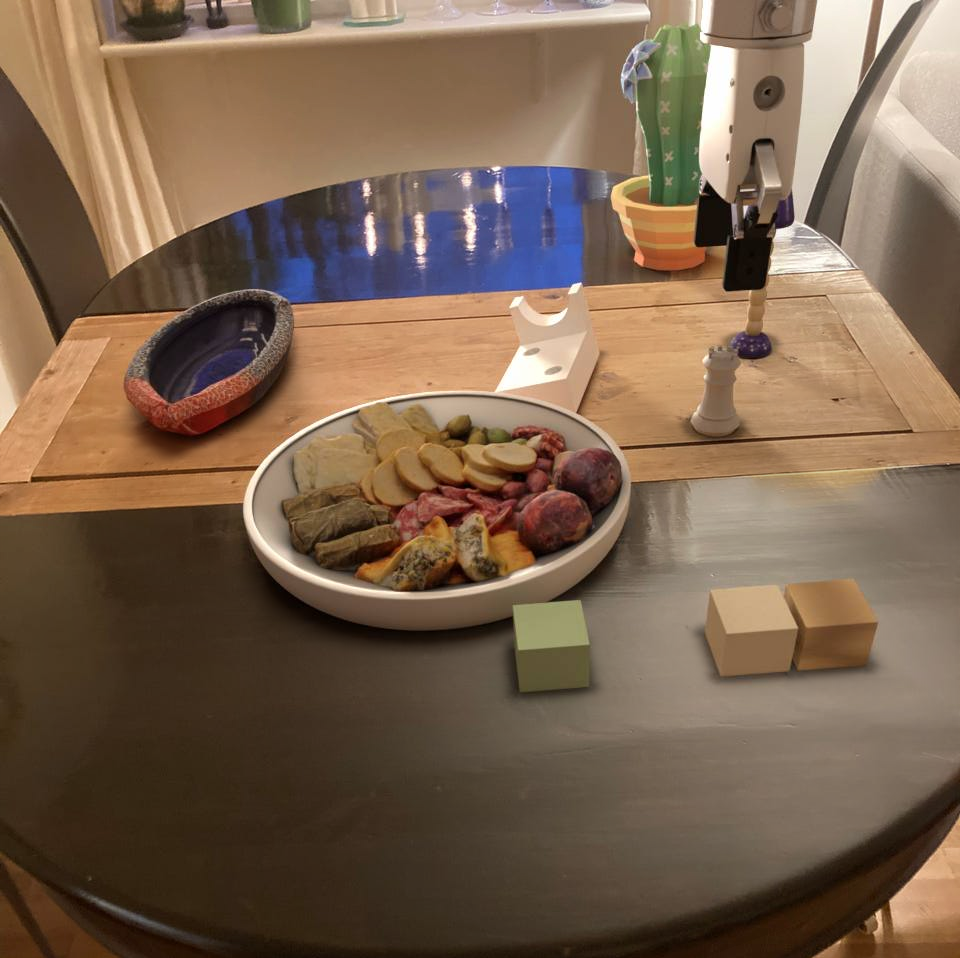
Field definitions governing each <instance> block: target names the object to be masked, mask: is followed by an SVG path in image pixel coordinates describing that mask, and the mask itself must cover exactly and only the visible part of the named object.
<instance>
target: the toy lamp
mask: <svg viewBox="0 0 960 958" xmlns="http://www.w3.org/2000/svg"><path fill="white" fill-rule="evenodd" d="M753 191H757V189H753ZM793 193H794V192H793V189H792V190H791V193H790V195H789V196H788V197H787V198H786V199H785V200H780V201H779V204H778V207H777V209H778V211H777V213H778V218H777V219H776V221H775V233H774V236H773V238H772V245H771V251H770V258H769V265H768V271H767V278H766V284H765V287H764V288H763V289H760V290H749V293H748V302H749V304H748V305H747V309H746V317H747V319H746V321H745V323H744V330H743V331H741V332H739V333H738V334H736V335H735V336H734V337H733V339H732V340H731V342H730V345H729V346H733V351H734V349H737V350H738V357H739V358H744V359H745V358H746V359H759V358H764V357H766V356H768V355H770V354H771V353H772V350H773V349H772V348H773V346H772V341H771V339H770V337H769V336H768V335H767V334H766V333H764V332H762V331H763V328H764V321H763V318H764V316H765V313H766V306H765V303H766V301H767V299H768V289H767V287H768V286H769V282H770V273H769V272H770V270H771V268H772V267H771V266H772V258H771V257H772V254H773V252H774V249H775V244H774V239H775V237H776V235H777V230H781V229H786V228H789V227H791V226H792V225H793V224H794V223H795V206H794V205H795V204H794V195H793ZM752 206H756V205H749V206H747V207H746V210H745V212H744V219H745V217H746V215H747V213H748V211H749V210H750V208H751V207H752Z"/></svg>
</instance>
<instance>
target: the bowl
mask: <svg viewBox="0 0 960 958" xmlns="http://www.w3.org/2000/svg"><path fill="white" fill-rule="evenodd" d="M630 470H631V469H630V467H629V464H628V461H627V459H626V456H625V454H624V453H623V451H622V449H621V448H620V446H619V445H618V444H617V443H616V441H615V440H614V439H613V438H612V437H611V436H610V435H609V434H608V433H607V432H606V431H605V430H603V429H602V428H601V427H600V426H599V425H597V424H596V423H594V422H592V421H591V420H590V419H588V418H585V416H582V415H580V414H579V413H577V412H576V413H574V412H572V411H570V410H567V409H565V408H563V407H560V406H557V405H554V404H551V403H548V402H545V401H541V400H537V399H533V398H529V397H524V396H519V395H512V394H506V393H497V392H495V391H486V390H485V391H483V390H441V391H439V390H438V391H428V392H427V391H426V392H419V393H410V394H404V395H398V396H392V397H387V398H385V399H383V398H382V399H379V400H376V401H371V402H367V403H364V404H360V405H357V406H354V407H351V408H348V409H345V410H343V411H340V412H337V413H335V414H332V415H329V416H327V417H325V418H323V419H320V420H319V421H316V422H315V423H313V424H311V425H309V426H307V427H305V428H303V429H301V430H300V431H299V432H297V433H295V434H294V435H292V436H291V437H289V438H288V439H286V440H285V441H284V442H283V443H281V444H280V445H278V446H277V447H276V448H275V449H274V450H273V451H271V453H269V455H268V456H267V457H266V458H265V459H264V460H263V461H262V462H261V463H260V465H259V466H258V467H257V469H256V470H255V471H254V473H253V474H252V476H251V478H250V480H249V482H248V484H247V487H246V490H245V493H244V495H243V503H242V518H243V522H244V526H245V530H246V533H247V536H248V539H249V543H250V545H251V547H252V549H253V551H254V553H255V555H256V557H257V559H258V560H259V562H260V563H261V565H262V566H263V567H264V569H265V570H266V571H267V573H268V574H269V575H270V576H271V578H273V580H274V581H276V583H277V584H279V585H280V586H281V587H282V588H283V589H285V590H286V591H287V592H288V593H290V594H291V595H292V596H294V597H295V598H297V599H298V600H300V601H301V602H303V603H304V604H307V605H308V606H310V607H312V608H314V609H316V610H318V611H320V612H323V613H325V614H328V615H330V616H332V617H335V618H337V619H342V620H343V621H347V622H351V623H355V624H359V625H364V626H367V627H374V628H379V629H380V628H381V629H387V630H389V629H390V630H397V631H417V632H419V631H421V632H422V631H427V632H428V631H442V630H443V631H445V630H454V629H463V628H471V627H475V626H480V625H485V624H486V625H487V624H490V623H494V622H497V621H502V620H504V619H508V618H511V617H513V605H522V604H535V603H548V602H551V601H552V600H553V599H555V598H557V597H559V596H561V595H562V594H564V593H565V592H567V591H568V590H569V589H571V588H573V587H575V586H576V585H577V584H578V583H580V582H581V581H582V580H583V579H585V578H586V577H587V576H588V575H589V574H590V573H591V572H593V571H594V569H595V568H596V567H598V566H599V564H600V563H601V562H602V561H603V560H604V559H605V557H607V555H608V554H609V552H610V551H611V549H612V548H613V546H614V545H615V543H616V541H617V540H618V538H619V536H620V534H621V532H622V530H623V528H624V526H625V525H624V524H625V522H626V519H627V516H628V512H629V507H630V501H631V489H632V477H631V471H630Z"/></svg>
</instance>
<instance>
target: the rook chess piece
mask: <svg viewBox="0 0 960 958" xmlns="http://www.w3.org/2000/svg"><path fill="white" fill-rule="evenodd" d="M723 347H724V345H723V344H717V345H716V349H715V346H711V347H709V348H708V351H707V354H706V355H705V356H704V357H703V359H702V361H701V362H702V364H703V366H704V367H705V369H706V373H705V374H704V375H703V380H704V390H703V394H702V397H701V401H700V404H699V405H697V407H696V411H694V412H693V414H692V416H691V419H690V423H691V425H692V427H693V428H694V429H695V431H696V432H698V433H699V434H701V435H703V436H707V437H715V438H716V437H718V438H719V437H725V436H728V435H731V434H732V433H733V432H734V431H735V430H736V429H737V428H738V427H739V426H740V423H741V420H740V416H739V414H738V413H737V409H736V407H735V404H734V385H735V383H736V382H737V375H736V374H735V372H736V371H737V369H739V368H740V367H741V364H742V360H741V358H740V357H739V356H738V350H737V349H734V351H733V346H730V345H729V344H728V345H726V349H723Z"/></svg>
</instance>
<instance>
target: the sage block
mask: <svg viewBox="0 0 960 958" xmlns="http://www.w3.org/2000/svg"><path fill="white" fill-rule="evenodd" d="M512 622H513V623H512V624H513V640H514V641H513V642H514V643H513V645H514V654H515V663H516V664H515V665H516V671H517V681H518V688H519V693H527V692H540V691H541V692H542V691H553V690H566V689H579V688H589V687H590V664H591V661H590V659H591V658H590V657H591V643H590V639H589V634H588V628H587V623H586V619H585V615H584V609H583V604H582V600H581V599H576V600H575V599H573V600H563V601H562V600H561V601H548V602H546V603H535V604H522V605H513V616H512Z"/></svg>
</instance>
